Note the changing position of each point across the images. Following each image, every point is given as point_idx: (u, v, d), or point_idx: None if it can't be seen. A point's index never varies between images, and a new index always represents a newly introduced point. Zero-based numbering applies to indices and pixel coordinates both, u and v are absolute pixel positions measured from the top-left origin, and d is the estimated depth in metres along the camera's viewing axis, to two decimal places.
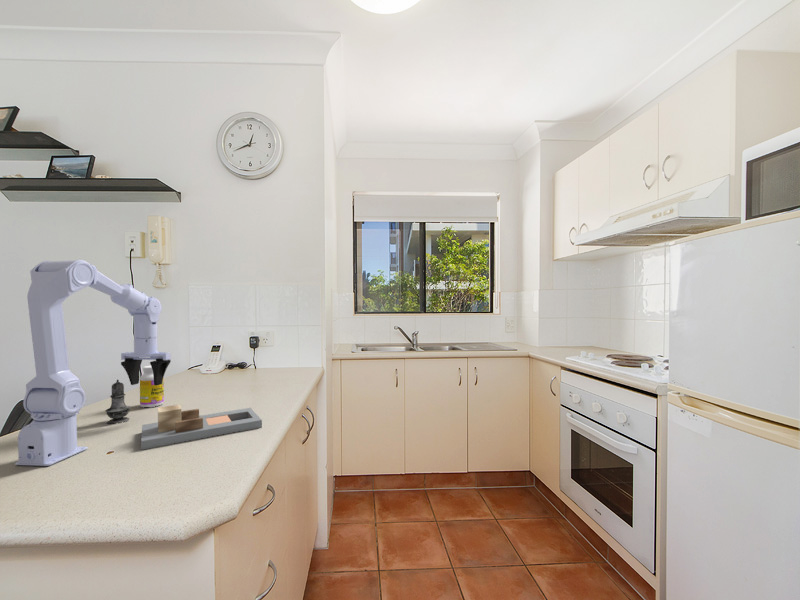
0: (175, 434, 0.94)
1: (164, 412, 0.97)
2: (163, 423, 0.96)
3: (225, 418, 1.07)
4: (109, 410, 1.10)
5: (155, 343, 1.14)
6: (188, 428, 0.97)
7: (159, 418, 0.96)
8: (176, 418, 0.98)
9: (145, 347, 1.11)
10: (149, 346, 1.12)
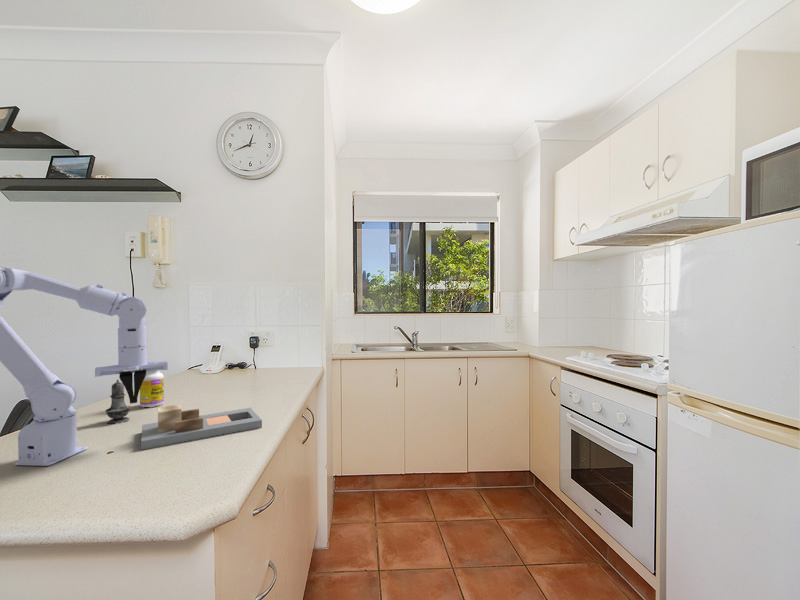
0: (175, 434, 0.94)
1: (164, 412, 0.97)
2: (163, 423, 0.96)
3: (225, 418, 1.07)
4: (109, 410, 1.10)
5: (118, 354, 0.93)
6: (188, 428, 0.97)
7: (159, 418, 0.96)
8: (176, 418, 0.98)
9: None
10: None
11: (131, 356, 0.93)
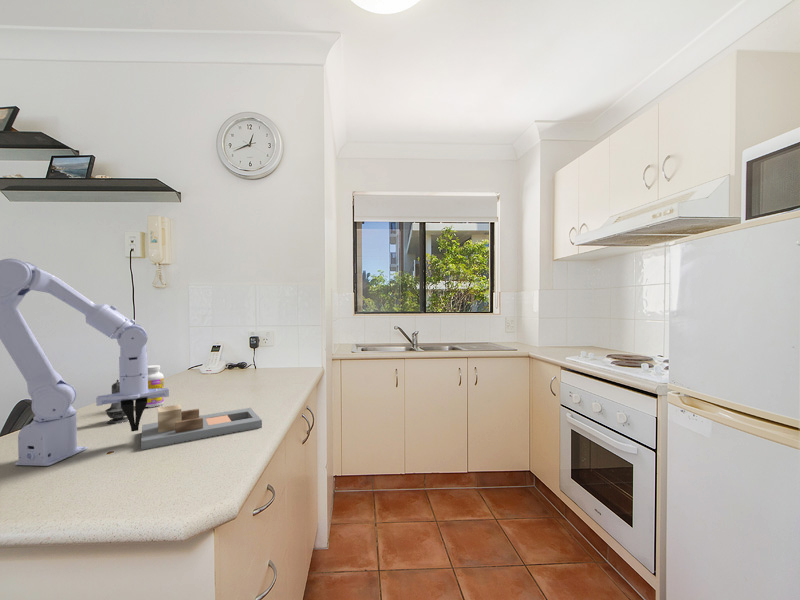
0: (175, 434, 0.94)
1: (164, 412, 0.97)
2: (163, 423, 0.96)
3: (225, 418, 1.07)
4: (109, 410, 1.10)
5: None
6: (188, 428, 0.97)
7: (159, 418, 0.96)
8: (176, 418, 0.98)
9: None
10: None
11: (133, 384, 0.93)
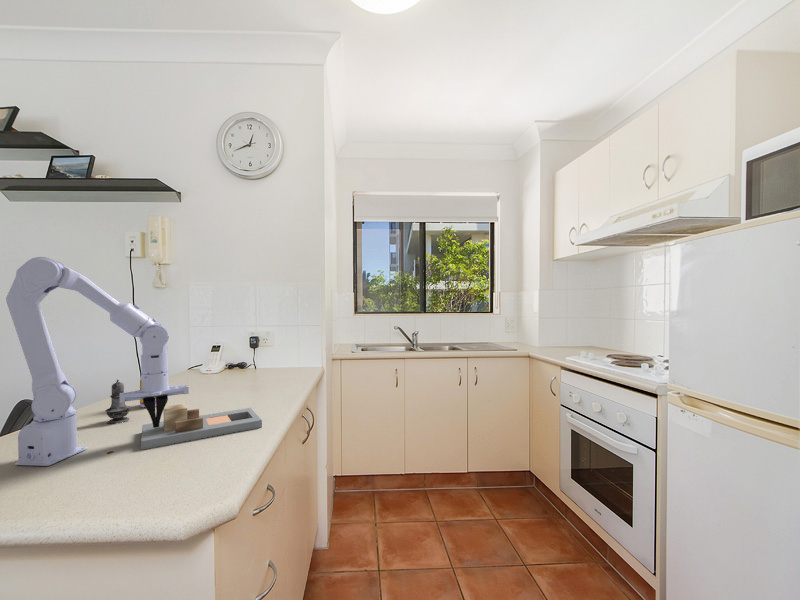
0: (175, 434, 0.94)
1: (170, 411, 0.97)
2: (170, 422, 0.97)
3: (225, 418, 1.07)
4: (109, 410, 1.10)
5: None
6: (188, 428, 0.97)
7: (165, 417, 0.97)
8: (182, 417, 0.99)
9: None
10: None
11: (154, 382, 0.95)
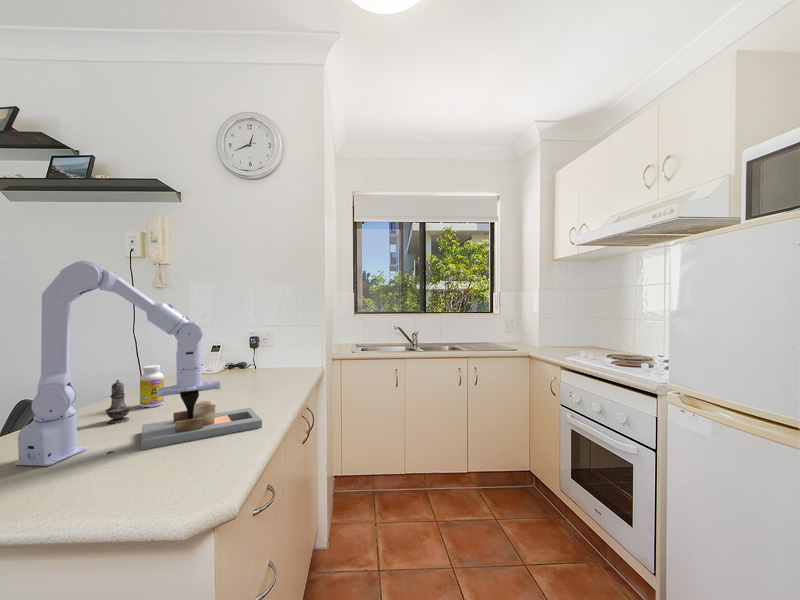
0: (175, 434, 0.94)
1: (200, 406, 1.01)
2: (198, 417, 1.01)
3: (225, 418, 1.07)
4: (109, 410, 1.10)
5: (177, 376, 1.00)
6: (188, 428, 0.97)
7: (195, 412, 1.00)
8: (210, 413, 1.02)
9: None
10: None
11: (189, 377, 0.99)
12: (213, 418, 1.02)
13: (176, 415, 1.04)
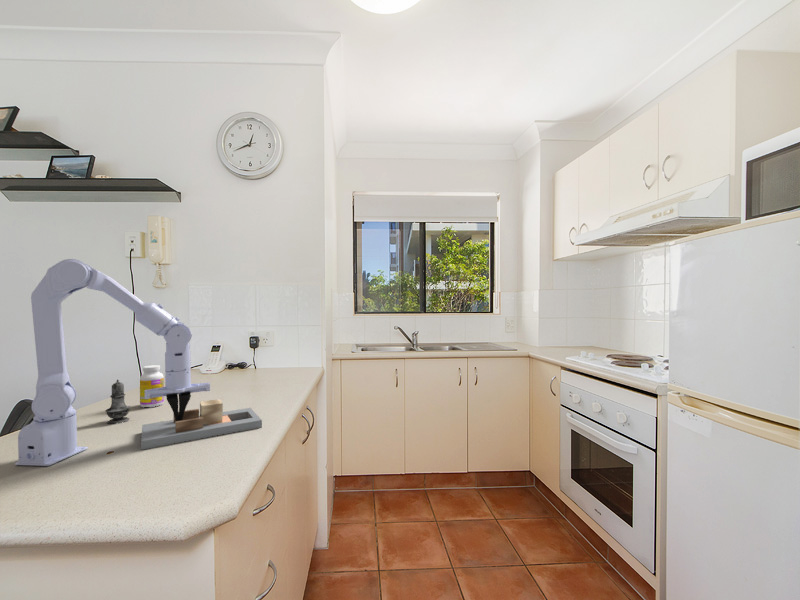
0: (175, 434, 0.94)
1: (207, 406, 1.02)
2: (206, 416, 1.02)
3: (225, 418, 1.07)
4: (109, 410, 1.10)
5: (165, 377, 0.98)
6: (188, 428, 0.97)
7: (202, 411, 1.01)
8: (217, 412, 1.03)
9: None
10: None
11: (178, 379, 0.98)
12: (221, 417, 1.03)
13: None
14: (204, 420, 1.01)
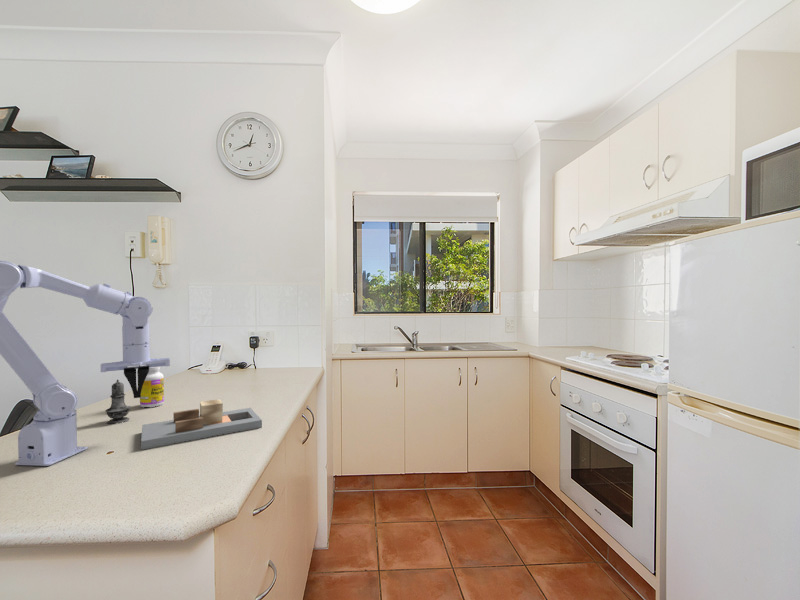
0: (175, 434, 0.94)
1: (207, 406, 1.02)
2: (206, 416, 1.02)
3: (225, 418, 1.07)
4: (109, 410, 1.10)
5: None
6: (188, 428, 0.97)
7: (202, 411, 1.01)
8: (217, 412, 1.03)
9: None
10: None
11: (135, 353, 0.97)
12: (221, 417, 1.03)
13: (176, 415, 1.04)
14: (204, 420, 1.01)
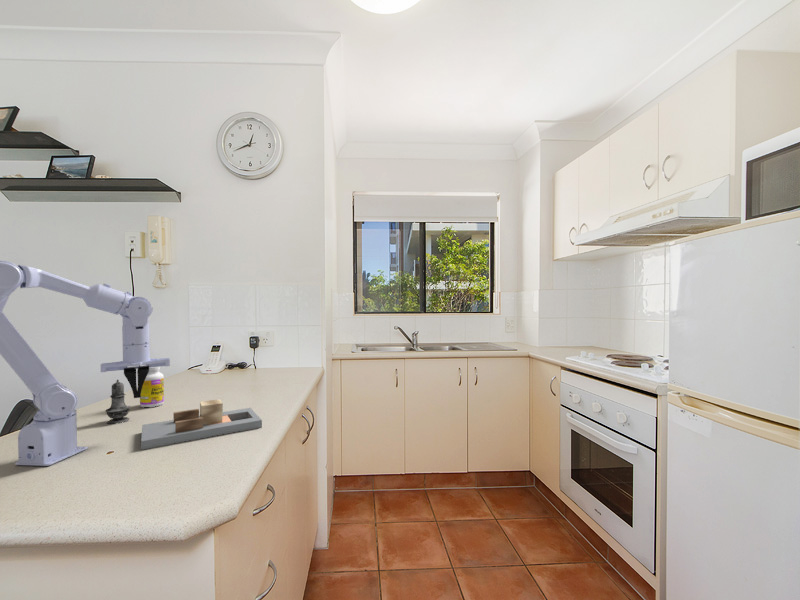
0: (175, 434, 0.94)
1: (207, 406, 1.02)
2: (206, 416, 1.02)
3: (225, 418, 1.07)
4: (109, 410, 1.10)
5: None
6: (188, 428, 0.97)
7: (202, 411, 1.01)
8: (217, 412, 1.03)
9: None
10: None
11: (135, 353, 0.97)
12: (221, 417, 1.03)
13: (176, 415, 1.04)
14: (204, 420, 1.01)
